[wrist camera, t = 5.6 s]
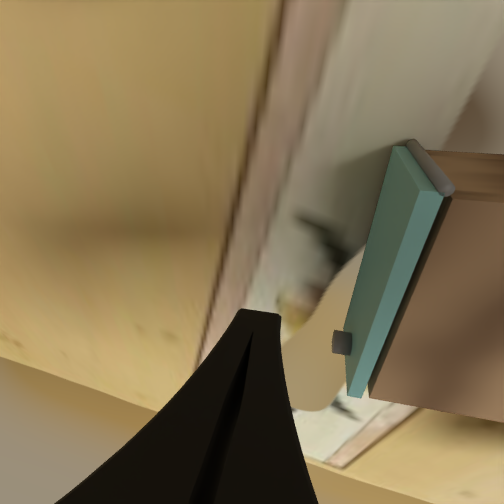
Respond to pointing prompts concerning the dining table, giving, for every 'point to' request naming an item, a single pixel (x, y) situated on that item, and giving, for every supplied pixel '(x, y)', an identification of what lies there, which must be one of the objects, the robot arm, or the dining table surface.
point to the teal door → (389, 257)
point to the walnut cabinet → (453, 302)
